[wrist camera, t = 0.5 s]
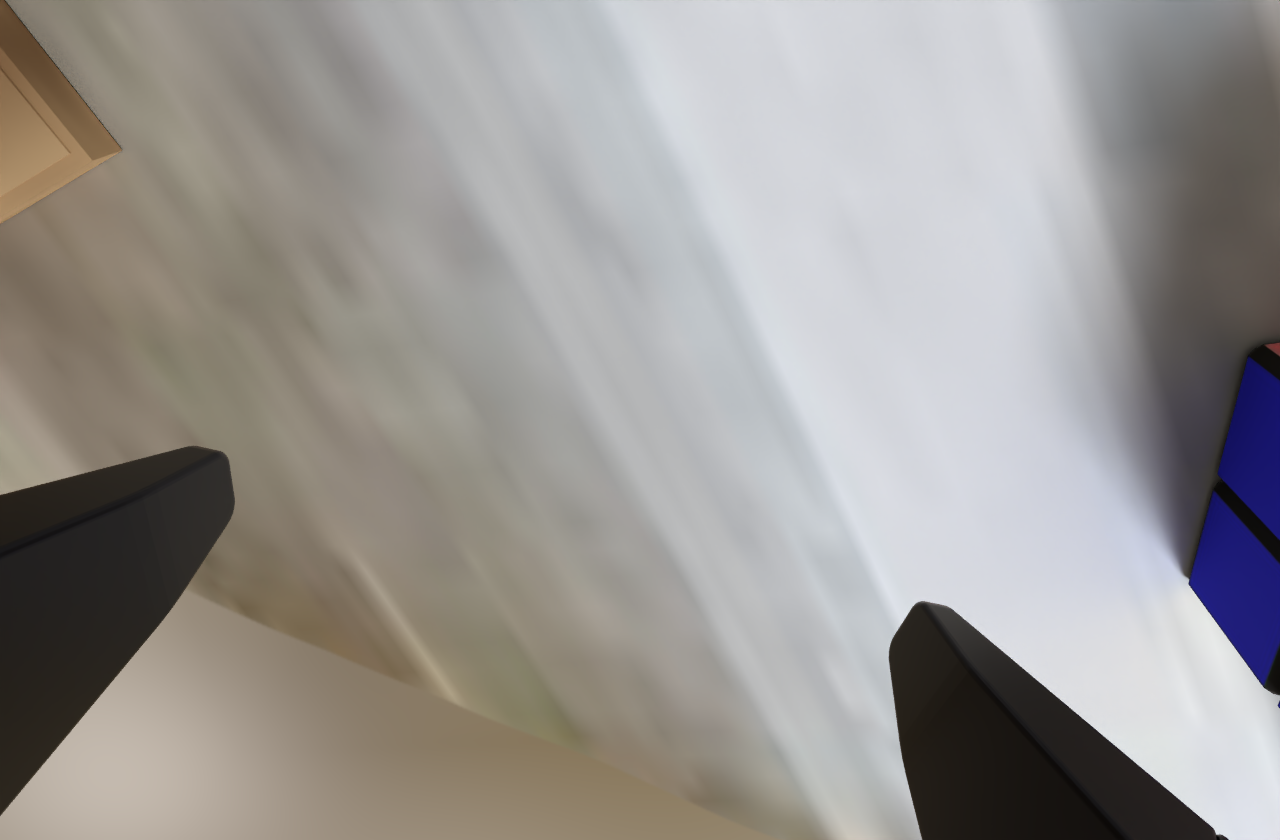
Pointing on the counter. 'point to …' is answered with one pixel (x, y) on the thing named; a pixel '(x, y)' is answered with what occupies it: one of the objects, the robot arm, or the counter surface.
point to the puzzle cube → (1247, 525)
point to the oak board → (40, 123)
